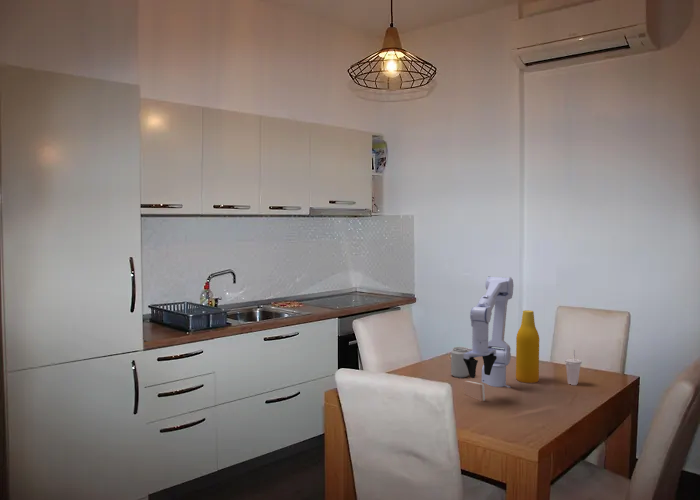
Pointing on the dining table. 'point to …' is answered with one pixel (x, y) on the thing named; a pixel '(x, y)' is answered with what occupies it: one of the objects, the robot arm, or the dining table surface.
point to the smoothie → (573, 369)
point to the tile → (474, 390)
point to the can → (458, 362)
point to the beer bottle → (527, 350)
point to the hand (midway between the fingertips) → (479, 376)
